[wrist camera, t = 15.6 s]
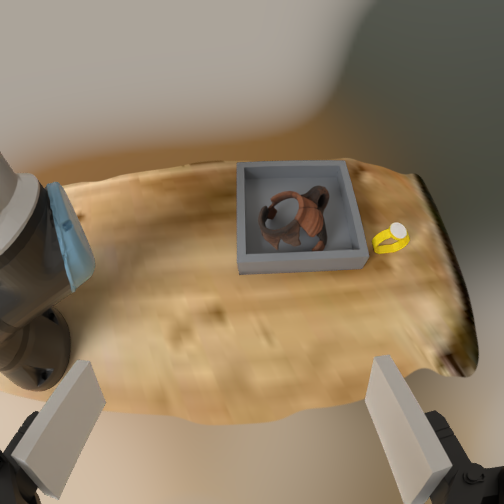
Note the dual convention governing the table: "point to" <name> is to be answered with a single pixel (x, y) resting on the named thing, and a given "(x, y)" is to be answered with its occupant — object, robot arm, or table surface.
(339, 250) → the tray
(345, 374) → the table surface
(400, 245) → the watch
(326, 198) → the broken clay jug
